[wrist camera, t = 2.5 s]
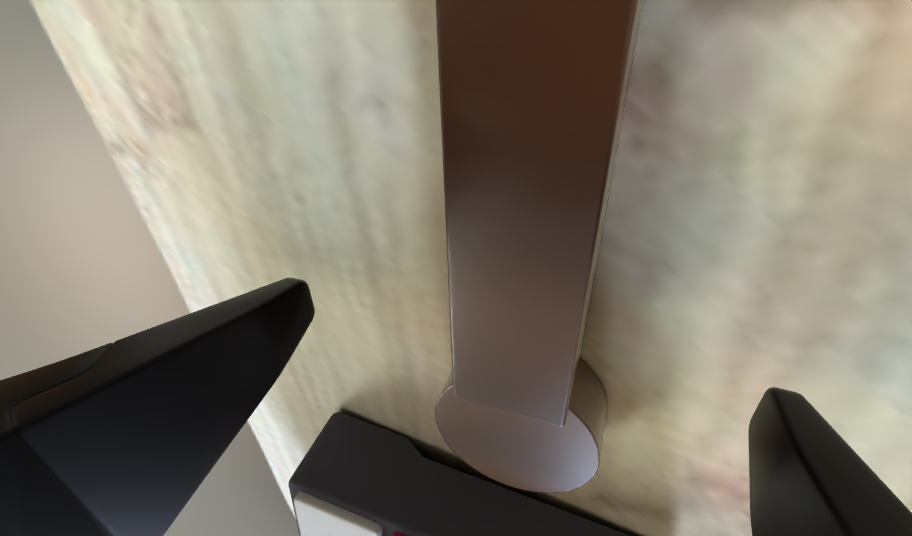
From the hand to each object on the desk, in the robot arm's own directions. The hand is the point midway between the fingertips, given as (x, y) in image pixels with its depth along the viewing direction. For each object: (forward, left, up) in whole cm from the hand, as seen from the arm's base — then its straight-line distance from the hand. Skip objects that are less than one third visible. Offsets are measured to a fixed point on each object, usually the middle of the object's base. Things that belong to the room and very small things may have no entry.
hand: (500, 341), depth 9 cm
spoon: (0, 0, -4) cm, 4 cm away
